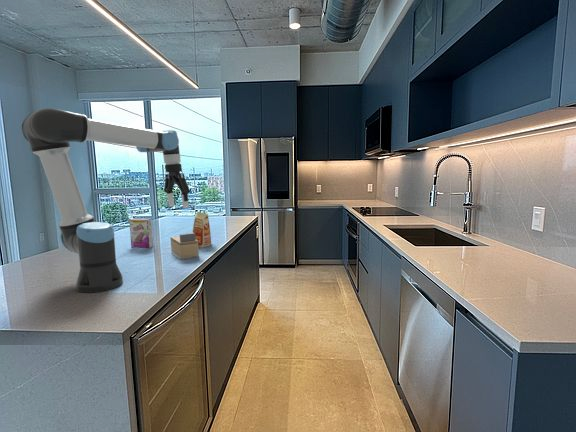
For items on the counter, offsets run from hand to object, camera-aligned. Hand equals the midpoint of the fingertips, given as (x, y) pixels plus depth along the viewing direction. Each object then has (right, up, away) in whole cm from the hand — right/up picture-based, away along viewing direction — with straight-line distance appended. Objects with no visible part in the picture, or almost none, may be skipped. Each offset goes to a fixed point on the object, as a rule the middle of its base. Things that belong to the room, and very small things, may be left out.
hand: (178, 207), depth 160 cm
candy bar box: (-30, -23, +27) cm, 46 cm away
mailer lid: (0, -17, +8) cm, 19 cm away
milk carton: (+4, -22, +30) cm, 37 cm away
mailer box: (0, -24, +8) cm, 26 cm away
